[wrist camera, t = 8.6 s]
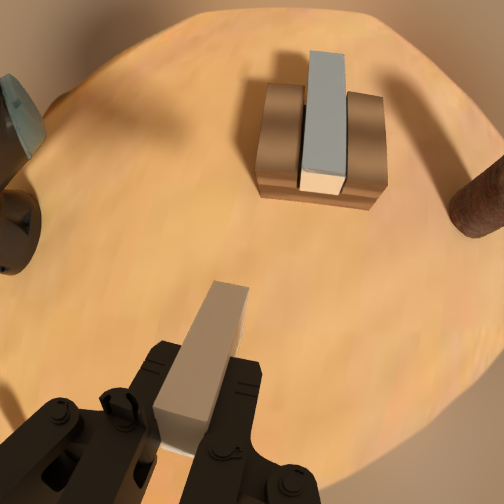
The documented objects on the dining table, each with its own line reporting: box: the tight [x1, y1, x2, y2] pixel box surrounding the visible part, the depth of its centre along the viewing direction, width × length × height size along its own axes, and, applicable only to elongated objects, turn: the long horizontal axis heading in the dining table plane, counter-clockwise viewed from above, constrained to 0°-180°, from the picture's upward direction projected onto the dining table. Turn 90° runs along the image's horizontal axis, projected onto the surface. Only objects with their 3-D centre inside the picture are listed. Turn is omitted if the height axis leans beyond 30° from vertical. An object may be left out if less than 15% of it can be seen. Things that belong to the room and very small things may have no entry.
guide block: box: [255, 83, 388, 210], centre depth 36 cm, size 12×14×8 cm
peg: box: [300, 50, 346, 195], centre depth 34 cm, size 18×4×5 cm, turn 172°
